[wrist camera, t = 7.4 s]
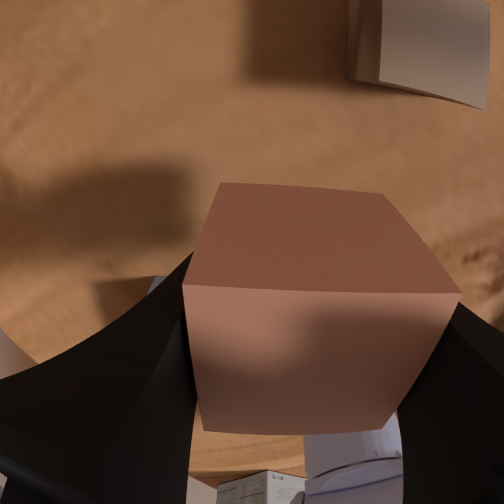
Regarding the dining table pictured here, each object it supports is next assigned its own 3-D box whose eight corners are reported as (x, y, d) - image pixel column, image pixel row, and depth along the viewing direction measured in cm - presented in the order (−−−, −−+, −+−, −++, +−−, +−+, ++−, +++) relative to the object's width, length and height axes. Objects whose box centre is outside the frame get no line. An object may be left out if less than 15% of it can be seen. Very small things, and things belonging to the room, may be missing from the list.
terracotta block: (352, 316, 12) (381, 429, 7) (222, 312, 12) (203, 430, 7) (383, 194, 9) (462, 293, 5) (220, 182, 9) (182, 284, 5)
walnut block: (431, 97, 13) (485, 110, 9) (345, 79, 13) (378, 80, 9) (435, 15, 11) (489, 4, 7) (348, -9, 11) (381, -39, 7)
